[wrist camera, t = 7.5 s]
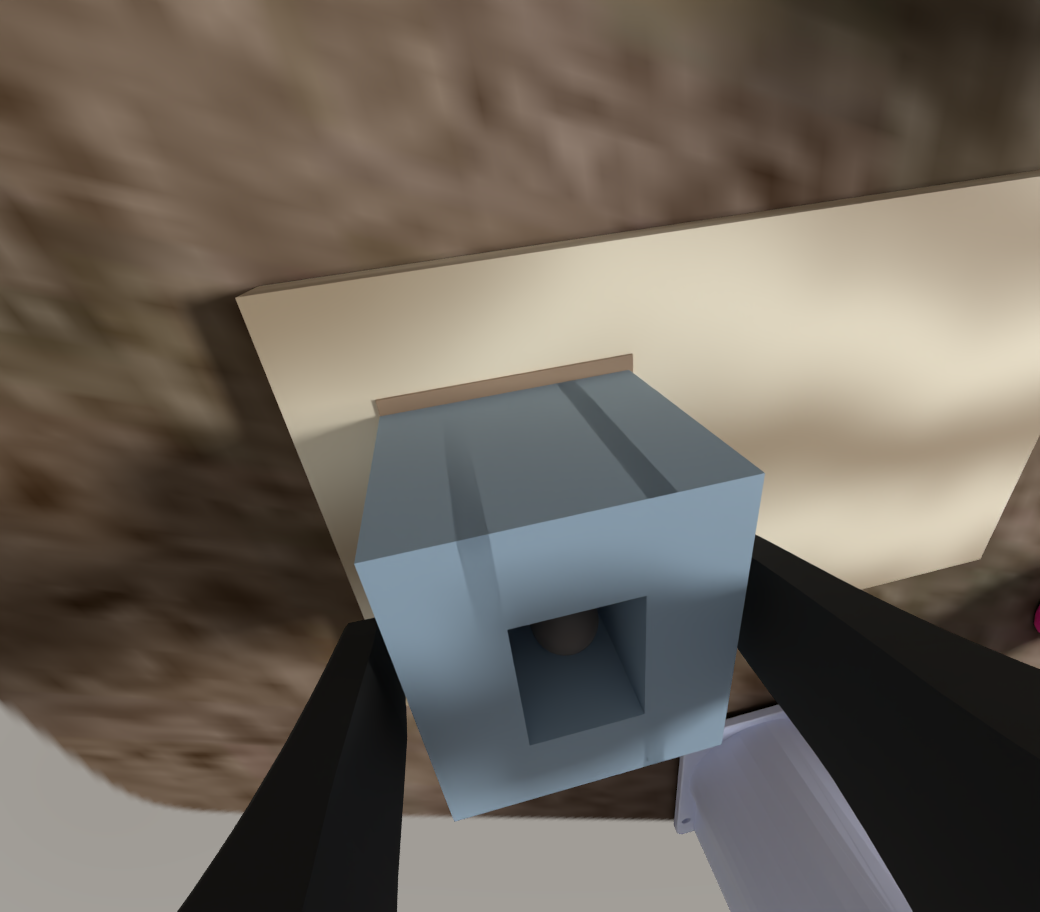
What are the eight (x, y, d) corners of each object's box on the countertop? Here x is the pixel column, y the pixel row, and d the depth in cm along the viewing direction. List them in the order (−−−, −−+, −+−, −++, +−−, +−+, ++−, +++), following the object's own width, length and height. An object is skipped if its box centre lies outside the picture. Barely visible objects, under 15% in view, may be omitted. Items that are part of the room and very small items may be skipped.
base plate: (941, 535, 19) (1132, 653, 14) (401, 668, 17) (394, 871, 11) (1095, 161, 13) (1546, 130, 8) (257, 286, 10) (101, 363, 5)
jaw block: (630, 584, 15) (721, 743, 10) (442, 629, 14) (454, 821, 10) (629, 369, 11) (765, 473, 7) (379, 416, 10) (353, 564, 6)
